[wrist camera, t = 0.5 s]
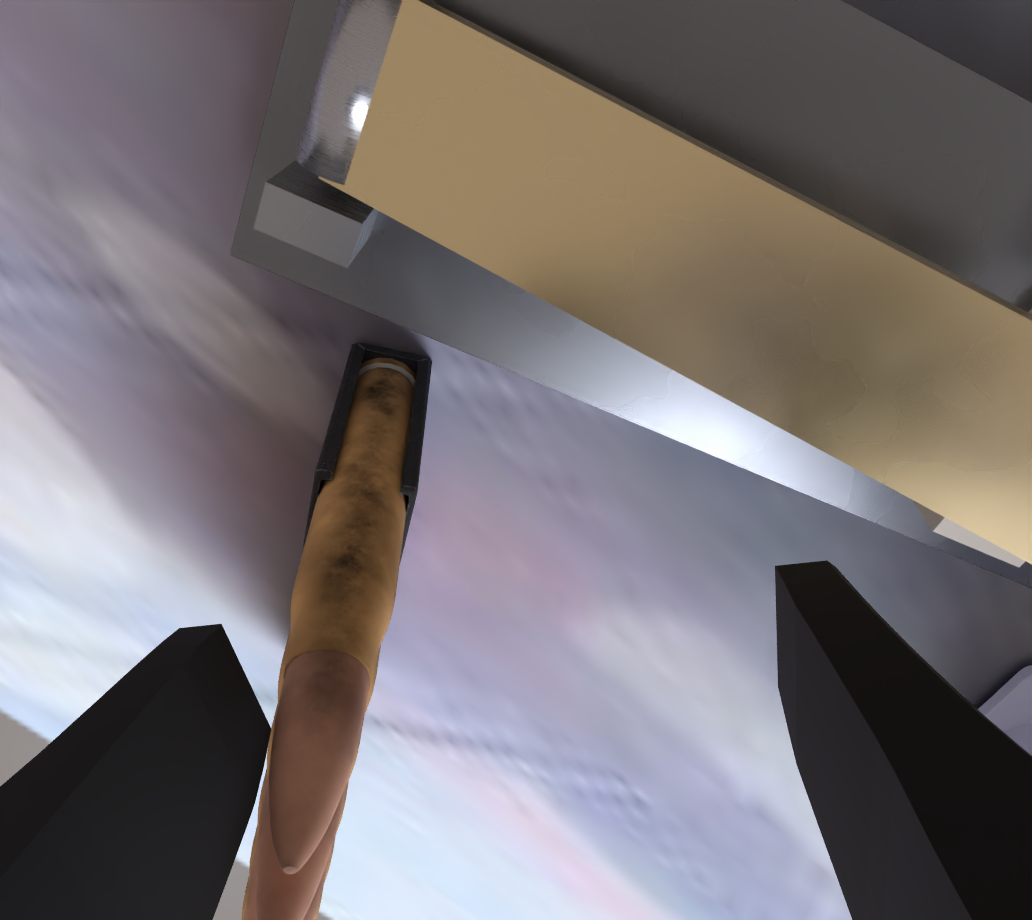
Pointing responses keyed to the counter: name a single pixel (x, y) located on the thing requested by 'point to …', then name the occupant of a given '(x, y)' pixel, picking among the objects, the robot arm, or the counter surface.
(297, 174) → the block
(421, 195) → the tan long flat bar
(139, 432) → the counter surface
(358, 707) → the ammunition clip
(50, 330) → the counter surface
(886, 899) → the robot arm
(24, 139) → the counter surface
